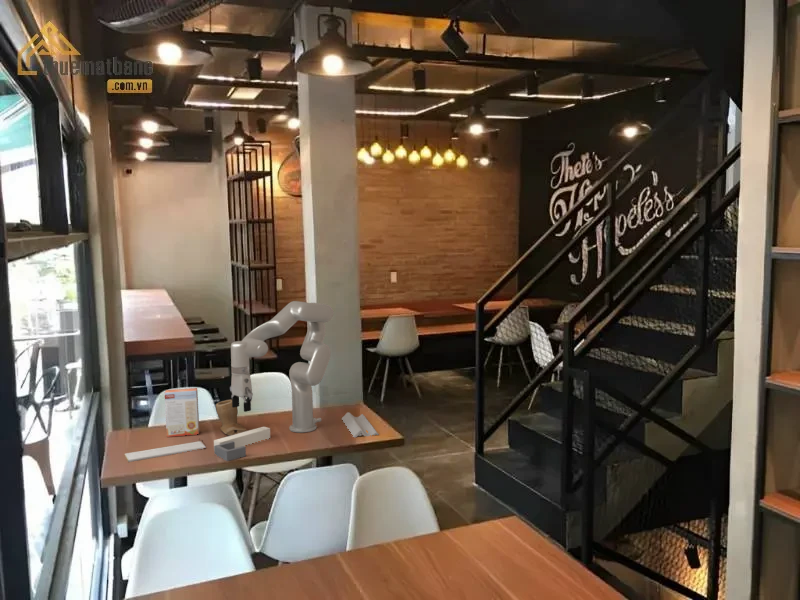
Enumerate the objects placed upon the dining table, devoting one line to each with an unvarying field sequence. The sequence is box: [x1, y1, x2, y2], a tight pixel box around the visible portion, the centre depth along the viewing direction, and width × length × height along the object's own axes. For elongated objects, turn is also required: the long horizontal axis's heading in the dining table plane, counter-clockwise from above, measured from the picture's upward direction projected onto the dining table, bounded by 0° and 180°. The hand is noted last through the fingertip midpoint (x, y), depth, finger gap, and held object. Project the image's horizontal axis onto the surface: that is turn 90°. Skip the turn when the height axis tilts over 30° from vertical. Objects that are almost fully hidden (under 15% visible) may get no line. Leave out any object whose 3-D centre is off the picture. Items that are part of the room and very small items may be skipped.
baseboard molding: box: [124, 438, 207, 463], centre depth 278 cm, size 31×3×12 cm
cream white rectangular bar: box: [213, 426, 271, 448], centre depth 286 cm, size 26×4×5 cm, turn 139°
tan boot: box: [215, 399, 248, 436], centre depth 303 cm, size 15×12×15 cm
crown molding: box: [341, 411, 380, 438], centre depth 312 cm, size 31×12×4 cm, turn 15°
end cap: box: [213, 441, 247, 462], centre depth 272 cm, size 8×10×4 cm
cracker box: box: [164, 387, 200, 438], centre depth 301 cm, size 14×6×21 cm, turn 103°
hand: (241, 409), depth 285 cm, fingers open, 9 cm apart
